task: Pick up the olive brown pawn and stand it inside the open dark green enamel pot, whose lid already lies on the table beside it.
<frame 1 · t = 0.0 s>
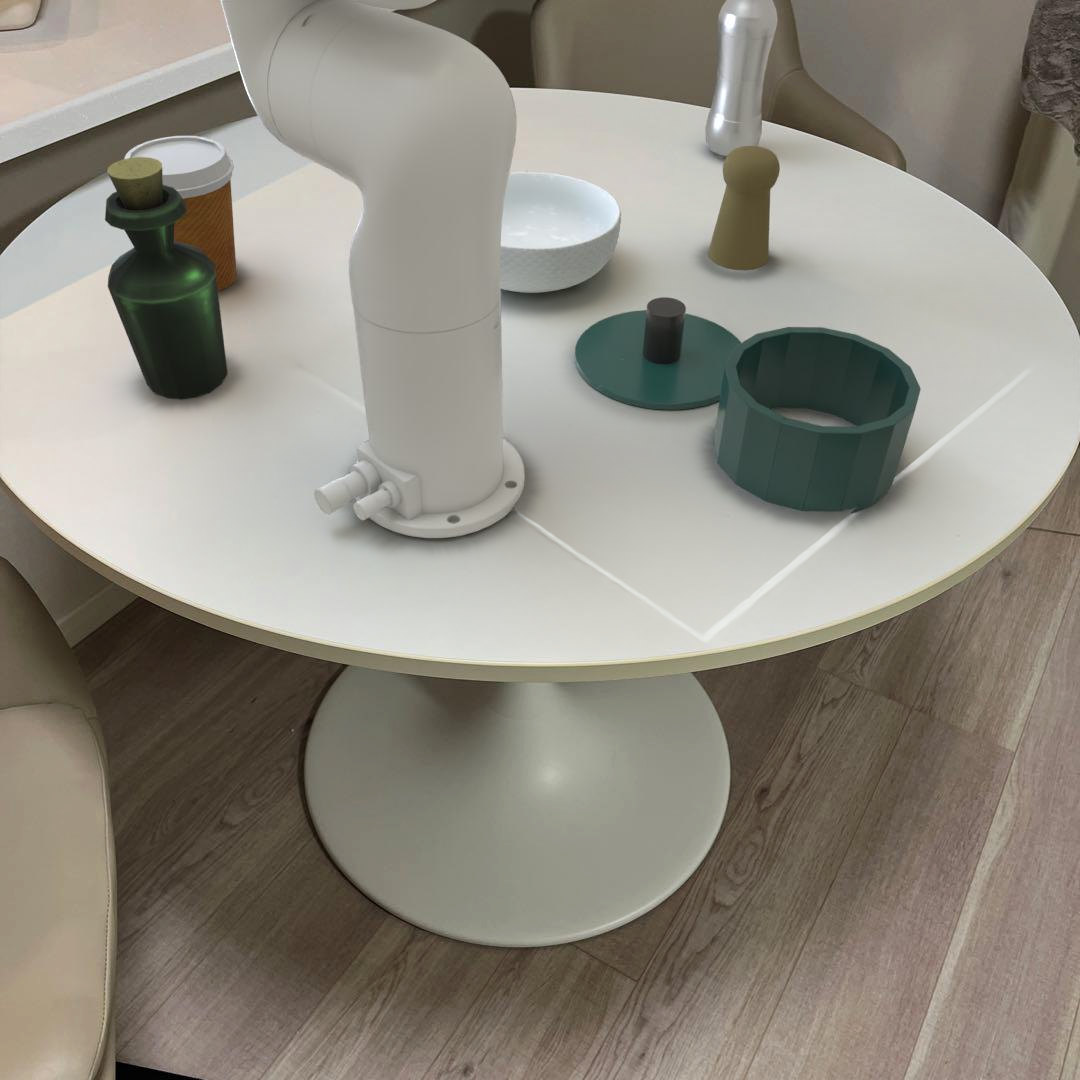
potion bottle: (188, 380, 88), on the table
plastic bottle: (730, 154, 124), on the table
disposable coffee cup: (203, 280, 100), on the table
olive brown pawn: (737, 262, 104), on the table
cereal bowl: (529, 277, 102), on the table
lid: (660, 360, 90), point 1 cm above the table
pot: (802, 458, 81), on the table
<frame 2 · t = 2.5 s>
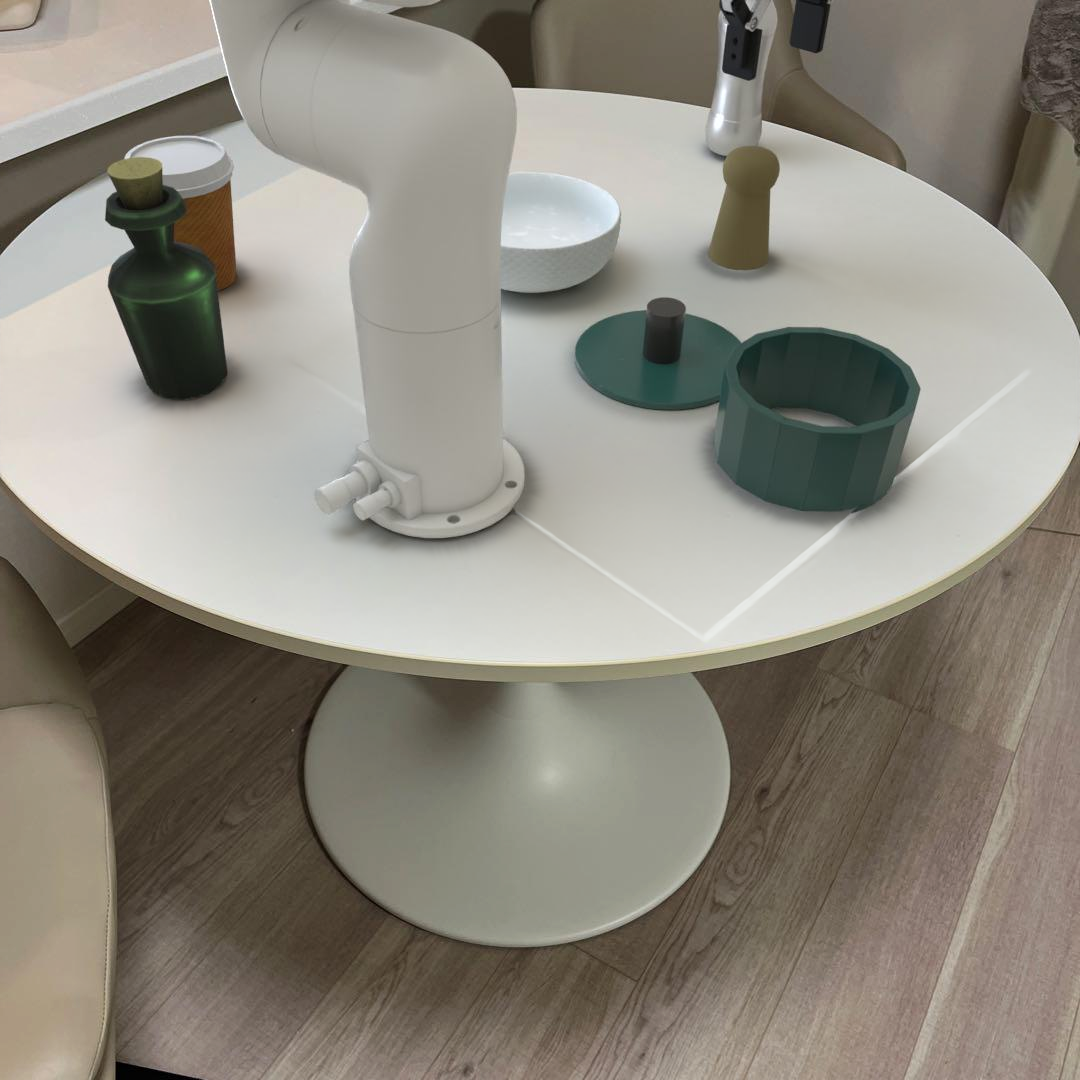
hand: (772, 62, 92), 19 cm above the table, tool pointing down, fingers open, 9 cm apart
nothing on the table moved.
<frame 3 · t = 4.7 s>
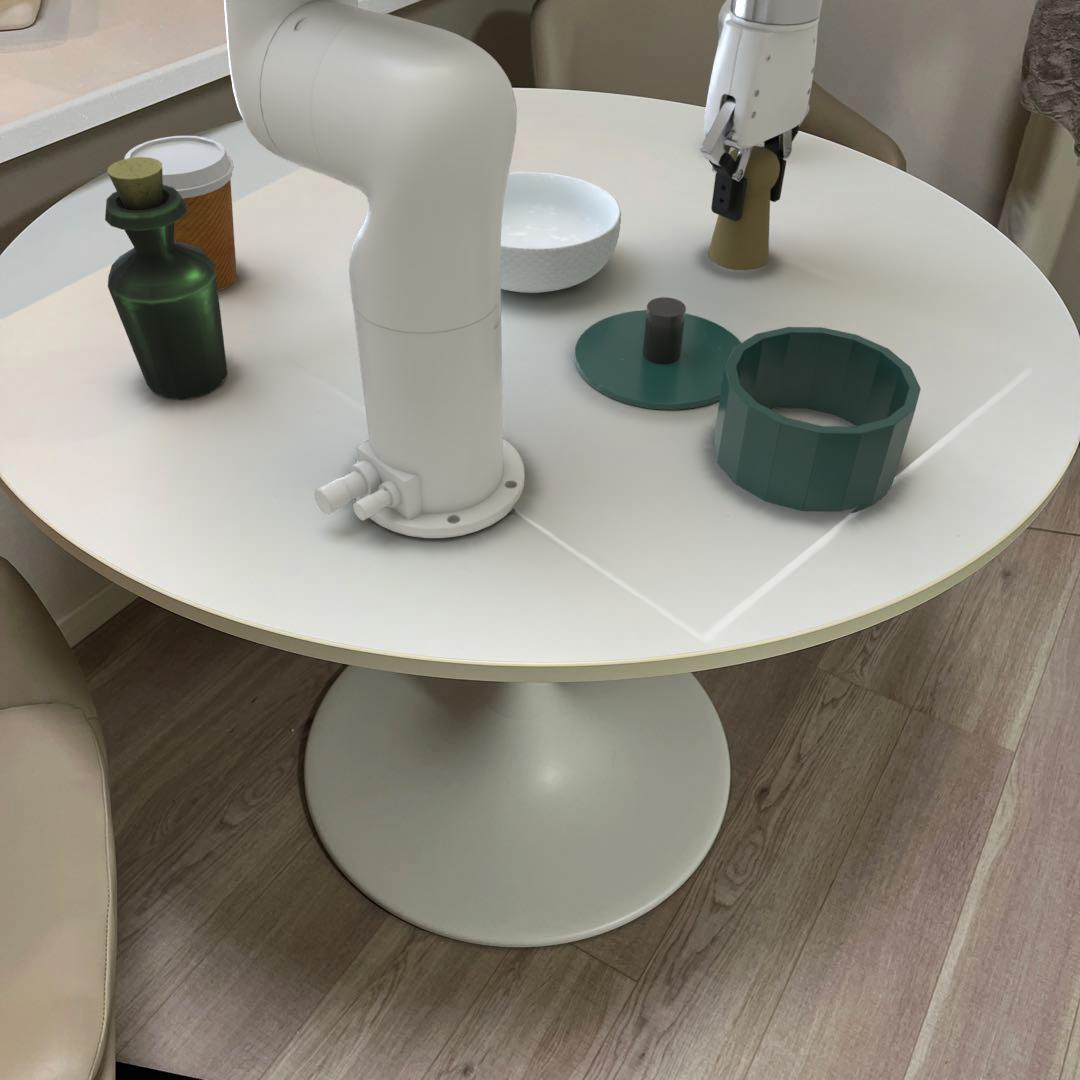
hand: (745, 204, 100), 6 cm above the table, tool pointing down, fingers closed on olive brown pawn, 5 cm apart
olive brown pawn: (737, 262, 104), on the table, touching gripper
everything else where it was.
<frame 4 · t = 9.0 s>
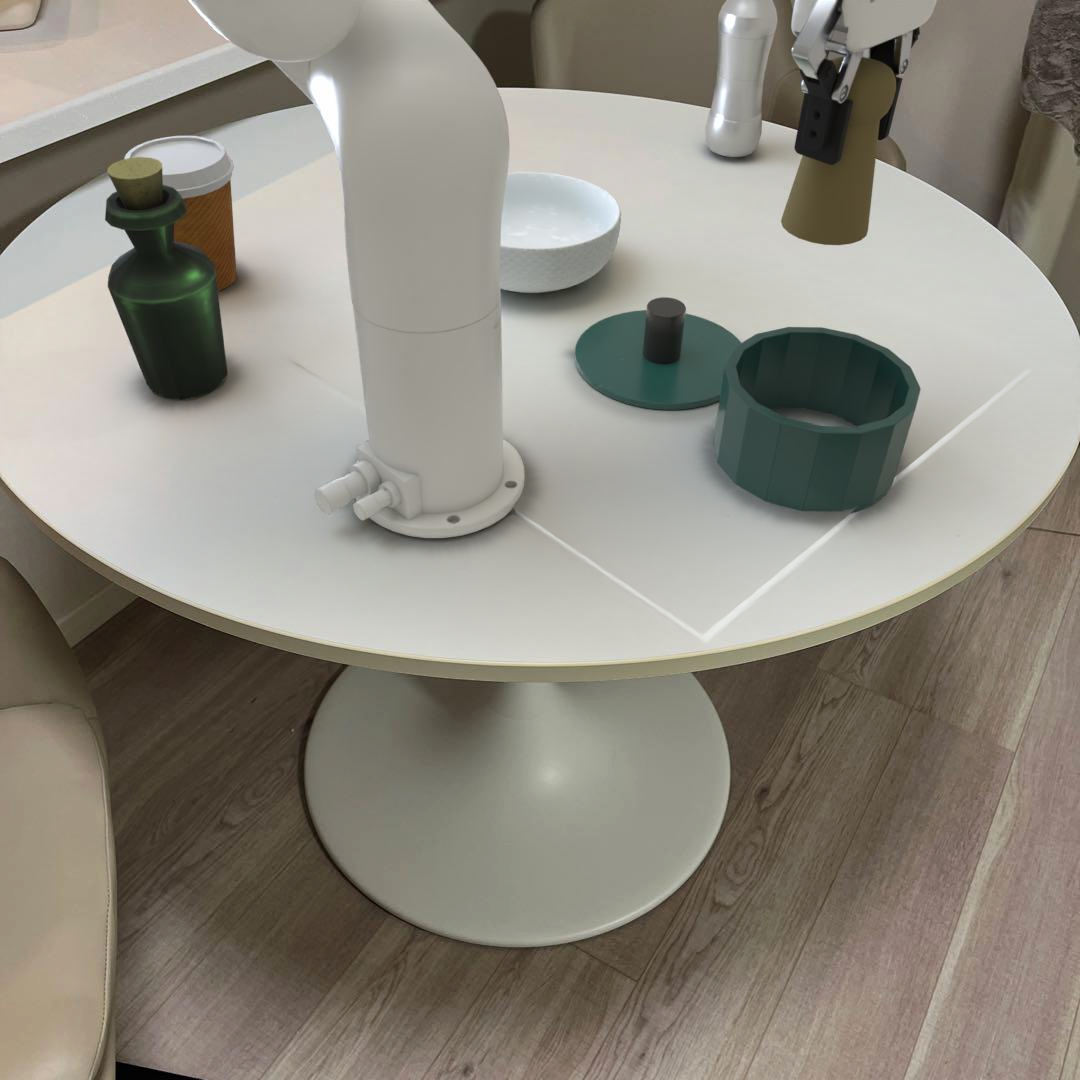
hand: (841, 142, 70), 22 cm above the table, tool pointing down, fingers closed on olive brown pawn, 5 cm apart
olive brown pawn: (823, 228, 74), point 16 cm above the table, touching gripper
everything else where it was.
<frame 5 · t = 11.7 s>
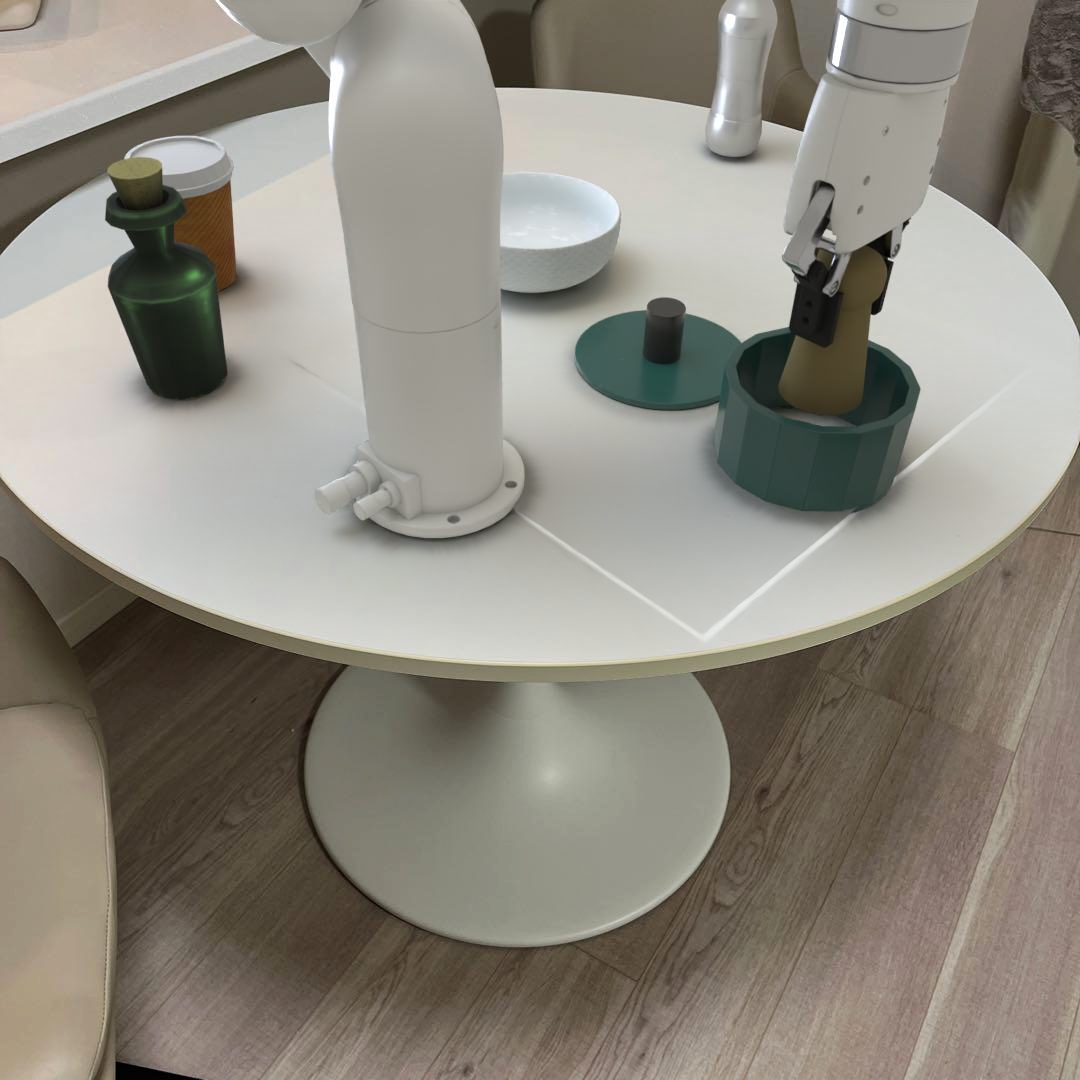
hand: (835, 320, 73), 12 cm above the table, tool pointing down, fingers closed on olive brown pawn, 5 cm apart
olive brown pawn: (819, 393, 77), point 6 cm above the table, touching gripper
everything else where it was.
when the fingers open (6 cm above the table, at t = 13.6 s): olive brown pawn stays where it is, resting on pot.
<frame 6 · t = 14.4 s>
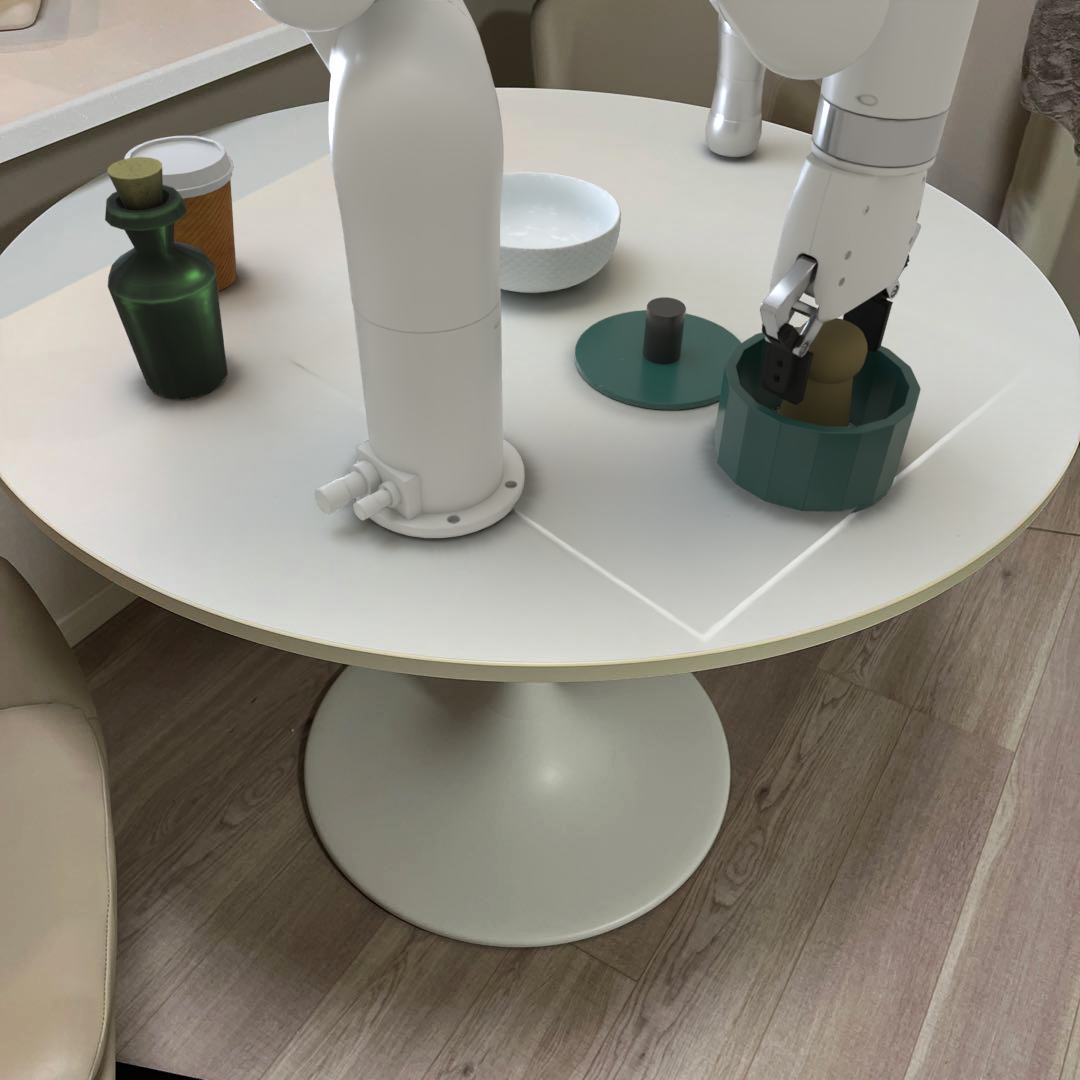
hand: (821, 368, 75), 8 cm above the table, tool pointing down, fingers open, 9 cm apart
olive brown pawn: (804, 455, 81), resting on pot
everything else where it was.
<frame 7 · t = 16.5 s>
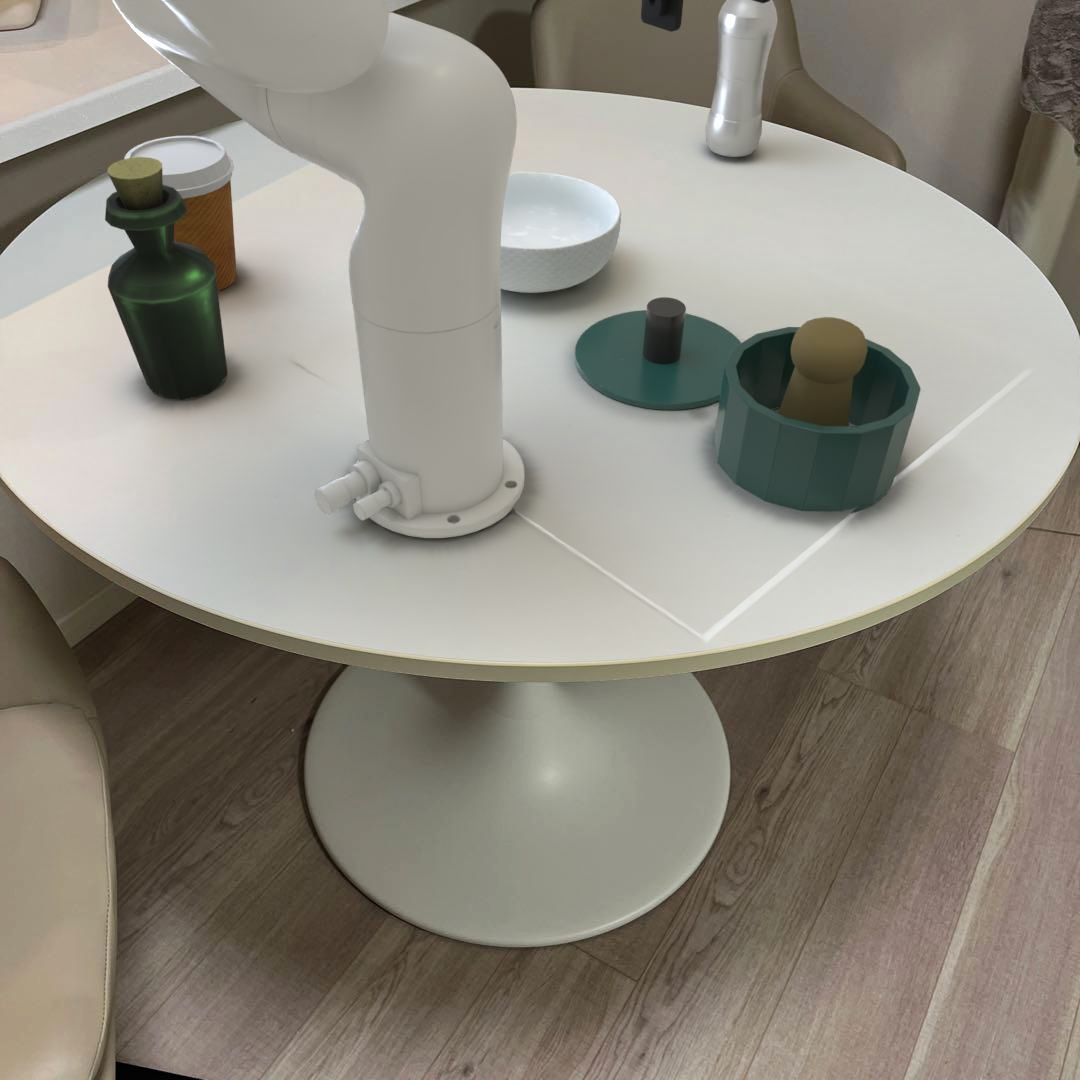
hand: (707, 11, 75), 27 cm above the table, tool pointing down, fingers open, 9 cm apart
nothing on the table moved.
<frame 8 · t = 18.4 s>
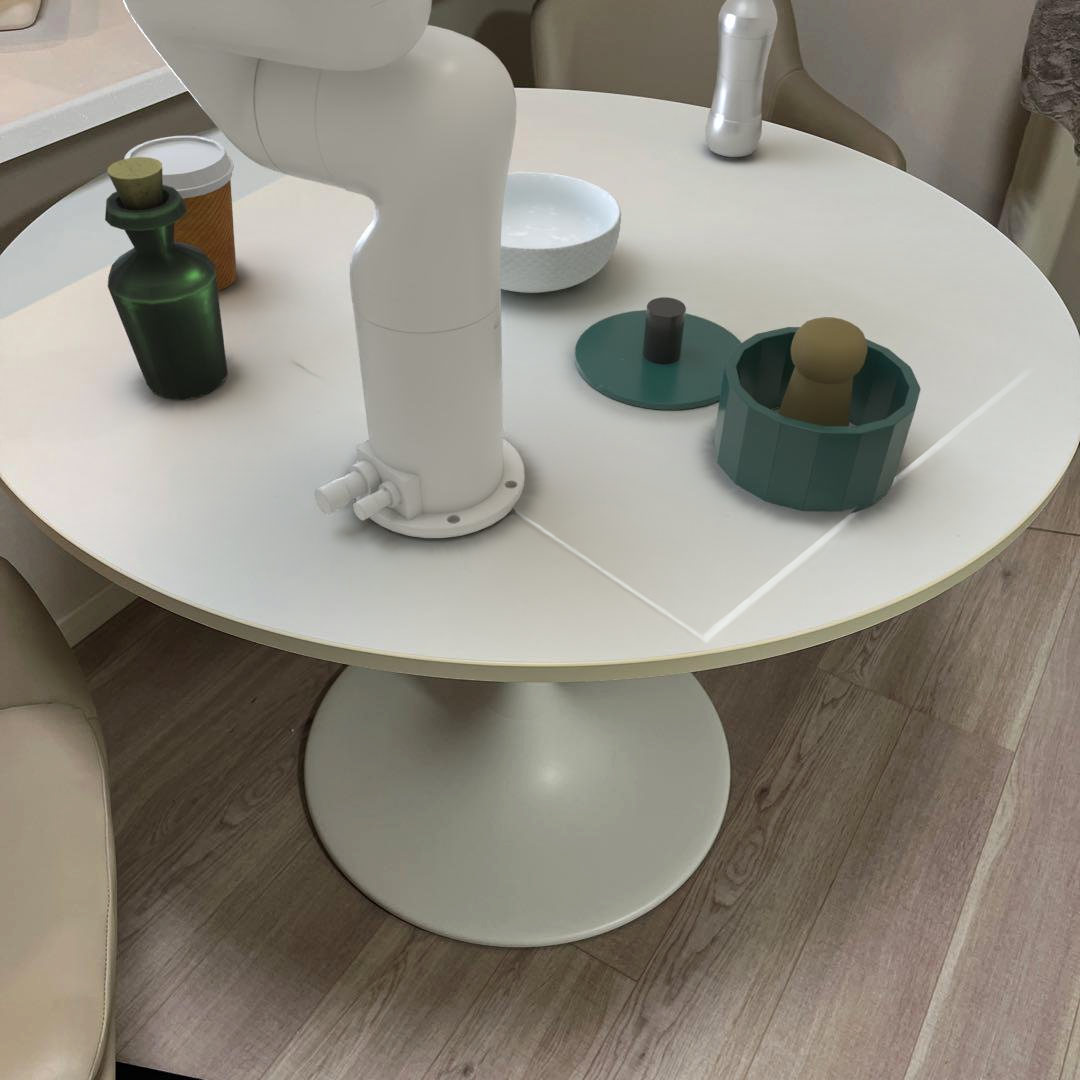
nothing on the table moved.
at the end: olive brown pawn inside the target area in the pot (0.1 cm from its centre), point 0.3 cm above the pot's base; olive brown pawn tilted 0° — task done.
